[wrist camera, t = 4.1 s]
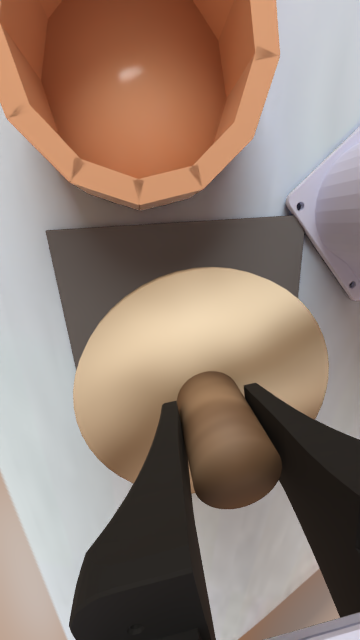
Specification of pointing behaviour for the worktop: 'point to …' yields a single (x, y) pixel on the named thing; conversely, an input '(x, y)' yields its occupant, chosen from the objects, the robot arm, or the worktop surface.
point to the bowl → (137, 89)
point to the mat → (163, 260)
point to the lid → (200, 377)
